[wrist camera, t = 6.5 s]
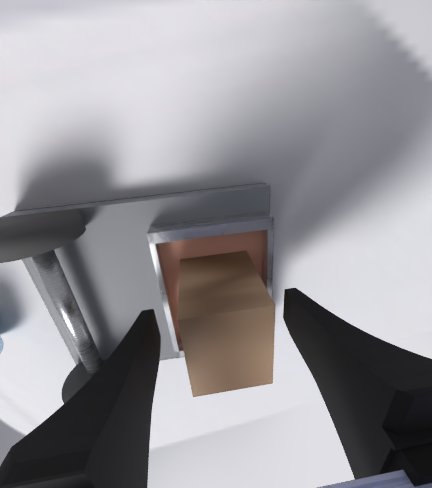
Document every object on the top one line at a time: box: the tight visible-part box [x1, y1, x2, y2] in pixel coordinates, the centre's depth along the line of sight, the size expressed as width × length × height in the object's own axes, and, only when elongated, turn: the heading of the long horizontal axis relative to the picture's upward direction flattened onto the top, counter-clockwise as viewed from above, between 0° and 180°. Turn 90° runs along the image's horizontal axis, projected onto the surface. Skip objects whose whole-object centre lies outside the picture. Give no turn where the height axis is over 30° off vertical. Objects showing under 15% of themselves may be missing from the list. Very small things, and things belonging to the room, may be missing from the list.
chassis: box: [0, 183, 273, 404], centre depth 14 cm, size 14×12×4 cm
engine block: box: [177, 251, 275, 397], centre depth 13 cm, size 4×5×5 cm
